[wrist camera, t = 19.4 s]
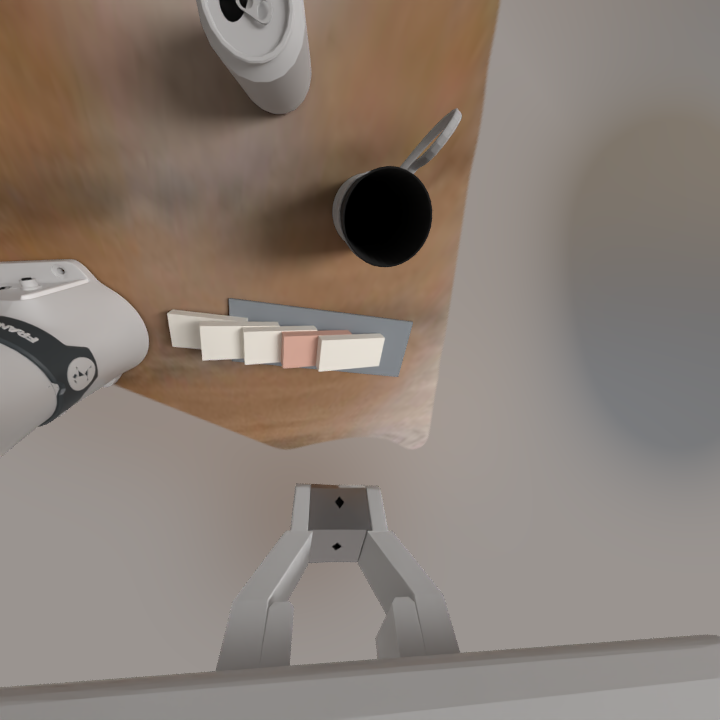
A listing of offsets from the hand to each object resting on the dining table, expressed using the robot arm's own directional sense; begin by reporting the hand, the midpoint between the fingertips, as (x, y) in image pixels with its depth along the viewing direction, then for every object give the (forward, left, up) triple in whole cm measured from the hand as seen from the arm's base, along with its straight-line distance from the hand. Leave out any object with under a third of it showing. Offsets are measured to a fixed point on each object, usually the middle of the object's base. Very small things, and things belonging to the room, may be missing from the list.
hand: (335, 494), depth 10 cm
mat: (0, -10, -34) cm, 36 cm away
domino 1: (-11, -10, -33) cm, 36 cm away
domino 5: (+9, -10, -33) cm, 36 cm away
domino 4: (+4, -10, -33) cm, 35 cm away
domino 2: (-7, -10, -33) cm, 35 cm away
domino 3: (-1, -10, -33) cm, 34 cm away
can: (-8, +20, -34) cm, 41 cm away
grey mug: (+5, +11, -34) cm, 36 cm away
